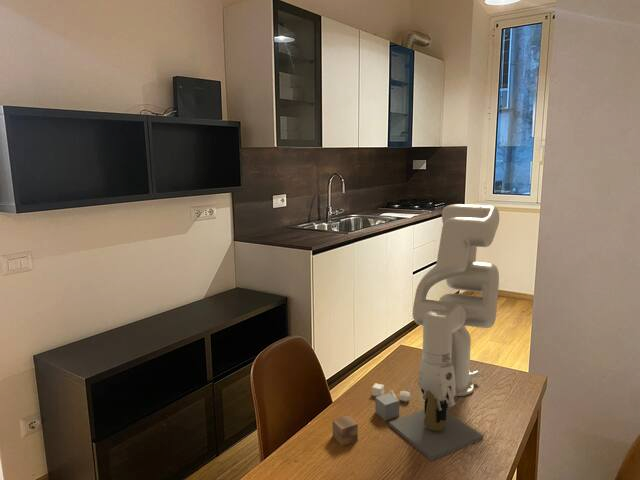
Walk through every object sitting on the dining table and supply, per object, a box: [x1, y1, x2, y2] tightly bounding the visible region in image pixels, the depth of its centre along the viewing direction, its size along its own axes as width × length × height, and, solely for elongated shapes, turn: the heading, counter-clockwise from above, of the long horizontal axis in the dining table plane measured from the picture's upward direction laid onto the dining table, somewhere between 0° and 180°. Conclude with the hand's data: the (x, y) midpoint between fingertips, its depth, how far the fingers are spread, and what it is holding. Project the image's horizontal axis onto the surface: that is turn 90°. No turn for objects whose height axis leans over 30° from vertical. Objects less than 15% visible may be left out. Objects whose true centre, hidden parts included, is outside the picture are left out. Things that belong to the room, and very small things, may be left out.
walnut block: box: [332, 415, 359, 447], centre depth 132 cm, size 5×5×5 cm
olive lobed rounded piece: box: [424, 391, 446, 430], centre depth 133 cm, size 6×6×11 cm
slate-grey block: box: [374, 392, 400, 421], centre depth 144 cm, size 5×5×5 cm
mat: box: [388, 409, 484, 461], centre depth 135 cm, size 18×18×1 cm
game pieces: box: [371, 382, 411, 403], centre depth 153 cm, size 12×3×3 cm, turn 62°
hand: (435, 416), depth 134 cm, fingers closed on olive lobed rounded piece, 4 cm apart
